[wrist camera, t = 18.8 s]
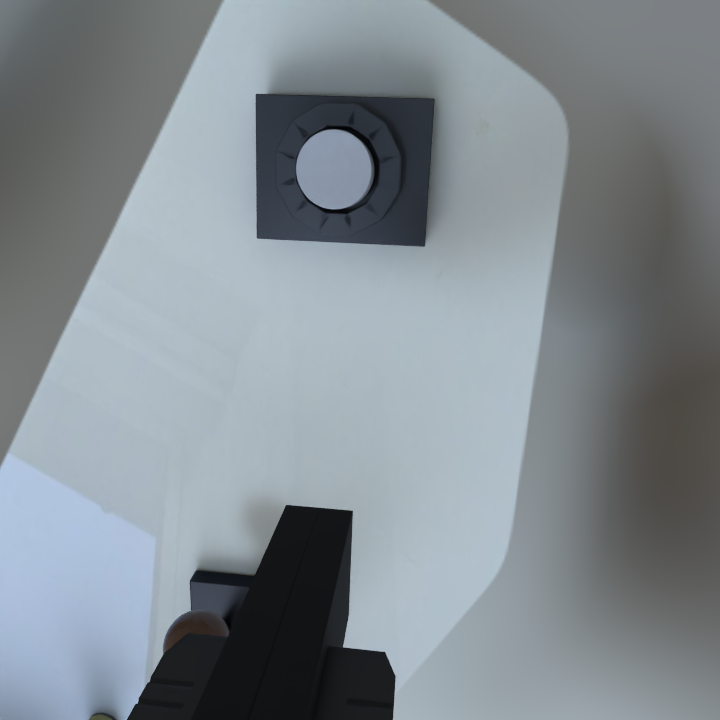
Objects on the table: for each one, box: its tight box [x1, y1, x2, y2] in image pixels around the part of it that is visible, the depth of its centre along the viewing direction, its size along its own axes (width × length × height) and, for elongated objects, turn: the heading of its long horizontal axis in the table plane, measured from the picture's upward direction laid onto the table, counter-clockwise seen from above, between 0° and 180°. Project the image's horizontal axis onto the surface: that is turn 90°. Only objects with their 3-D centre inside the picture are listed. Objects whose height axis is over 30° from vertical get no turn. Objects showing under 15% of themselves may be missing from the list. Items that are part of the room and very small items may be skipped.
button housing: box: [256, 94, 434, 247], centre depth 35 cm, size 10×8×4 cm
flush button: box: [296, 129, 374, 209], centre depth 32 cm, size 4×4×2 cm
